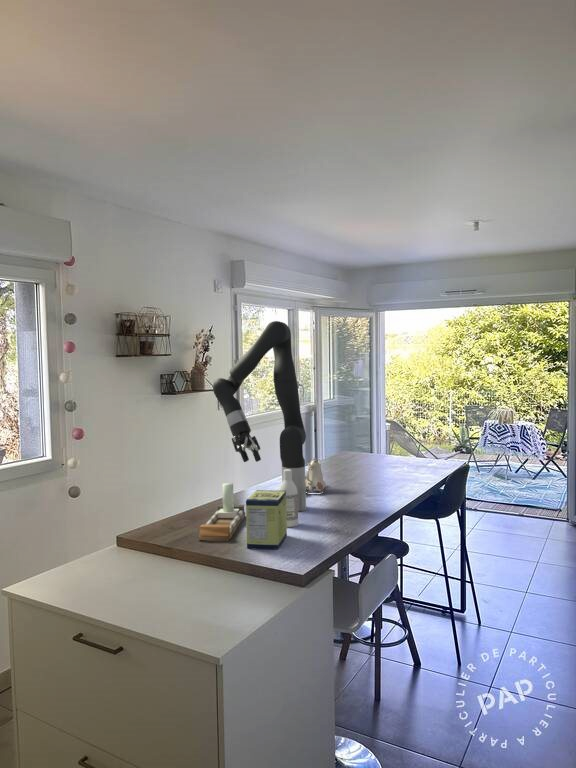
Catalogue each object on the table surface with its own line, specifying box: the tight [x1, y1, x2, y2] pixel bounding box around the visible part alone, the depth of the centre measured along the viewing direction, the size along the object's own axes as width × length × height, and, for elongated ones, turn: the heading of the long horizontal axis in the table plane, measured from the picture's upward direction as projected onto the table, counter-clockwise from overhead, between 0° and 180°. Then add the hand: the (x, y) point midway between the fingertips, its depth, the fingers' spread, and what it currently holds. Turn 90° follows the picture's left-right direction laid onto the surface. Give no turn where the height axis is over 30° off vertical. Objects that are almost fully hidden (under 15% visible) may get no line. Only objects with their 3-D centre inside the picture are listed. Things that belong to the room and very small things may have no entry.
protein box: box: [245, 489, 288, 550], centre depth 192 cm, size 10×16×16 cm
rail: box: [198, 504, 246, 542], centre depth 210 cm, size 32×10×4 cm, turn 174°
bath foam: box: [278, 469, 299, 528], centre depth 211 cm, size 7×7×20 cm
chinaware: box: [305, 456, 327, 493], centre depth 265 cm, size 28×17×17 cm, turn 155°
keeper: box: [217, 482, 239, 518], centre depth 218 cm, size 6×7×12 cm
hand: (252, 461), depth 229 cm, fingers open, 8 cm apart
